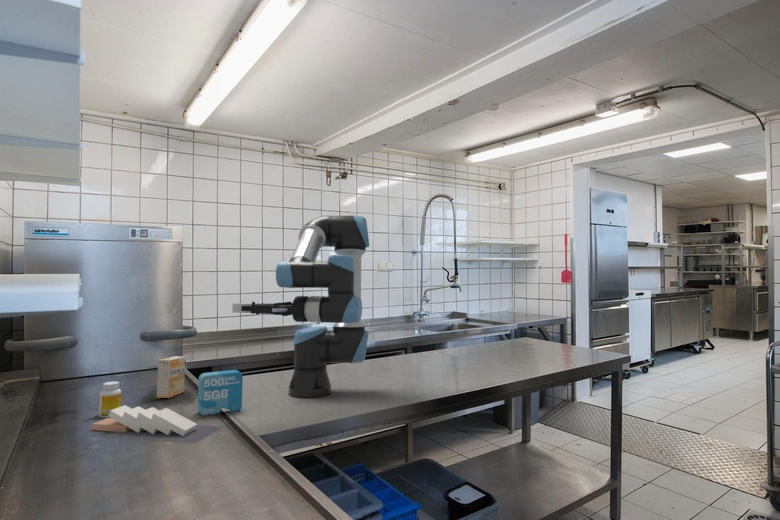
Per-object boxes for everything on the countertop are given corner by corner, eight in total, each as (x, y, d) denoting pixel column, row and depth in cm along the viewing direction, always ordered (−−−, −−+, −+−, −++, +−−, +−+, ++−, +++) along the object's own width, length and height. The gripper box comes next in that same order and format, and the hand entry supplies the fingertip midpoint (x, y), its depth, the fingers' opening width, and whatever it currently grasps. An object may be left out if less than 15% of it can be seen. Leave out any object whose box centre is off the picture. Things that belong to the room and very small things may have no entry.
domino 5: (197, 424, 113) (166, 407, 115) (185, 430, 108) (153, 413, 110) (195, 429, 113) (164, 413, 115) (183, 436, 108) (151, 419, 110)
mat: (222, 428, 116) (222, 426, 116) (195, 444, 104) (195, 443, 104) (137, 422, 120) (137, 421, 120) (102, 437, 108) (102, 436, 108)
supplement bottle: (95, 416, 125) (96, 383, 126) (115, 411, 130) (116, 380, 130) (104, 419, 122) (105, 385, 123) (124, 414, 127) (125, 382, 127)
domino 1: (139, 420, 116) (107, 417, 118) (125, 426, 111) (92, 423, 113) (139, 425, 116) (107, 423, 118) (125, 432, 111) (92, 429, 113)
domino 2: (154, 421, 115) (125, 405, 117) (140, 427, 110) (110, 410, 112) (152, 426, 115) (123, 410, 117) (138, 432, 110) (108, 415, 112)
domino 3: (168, 422, 115) (138, 406, 116) (155, 428, 110) (124, 411, 111) (166, 427, 115) (136, 411, 116) (153, 434, 110) (122, 417, 111)
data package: (200, 417, 125) (201, 376, 125) (197, 413, 129) (198, 373, 129) (242, 411, 131) (242, 371, 132) (238, 407, 135) (239, 369, 136)
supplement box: (168, 399, 144) (169, 360, 144) (156, 398, 145) (157, 359, 145) (184, 393, 152) (186, 356, 152) (173, 392, 153) (174, 355, 153)
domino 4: (182, 423, 114) (152, 407, 116) (170, 429, 109) (138, 412, 111) (180, 428, 114) (150, 412, 116) (168, 435, 109) (136, 418, 111)
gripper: (300, 324, 117) (221, 322, 121) (316, 320, 130) (244, 318, 134) (300, 296, 118) (222, 296, 122) (316, 295, 131) (244, 294, 134)
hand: (233, 307), depth 128 cm, fingers closed
